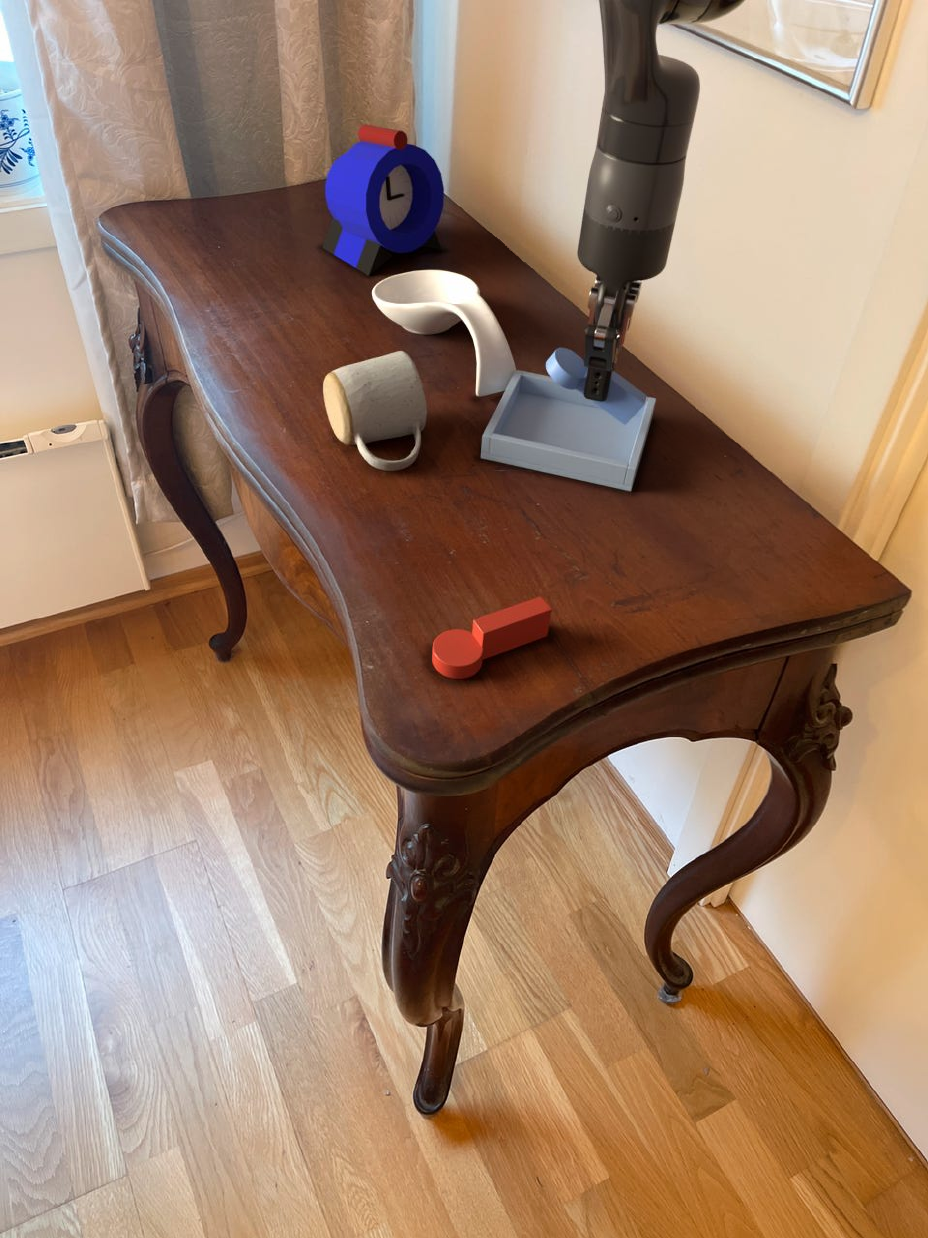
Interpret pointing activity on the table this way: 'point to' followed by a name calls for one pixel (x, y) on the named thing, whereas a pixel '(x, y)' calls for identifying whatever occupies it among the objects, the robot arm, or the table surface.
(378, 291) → the spoon rest
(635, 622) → the table surface
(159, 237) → the table surface
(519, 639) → the red disc with bar
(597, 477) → the blue tray
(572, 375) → the blue spoon
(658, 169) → the robot arm
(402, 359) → the ceramic mug
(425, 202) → the alarm clock
